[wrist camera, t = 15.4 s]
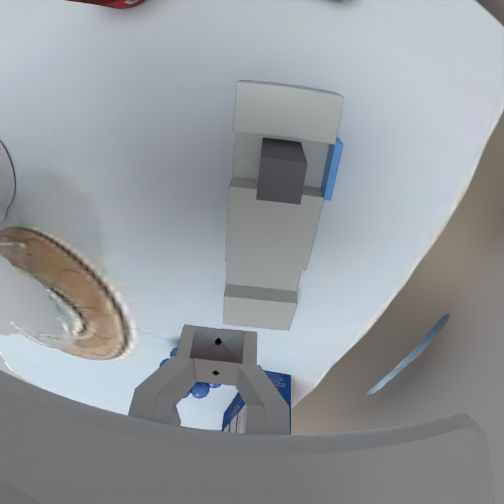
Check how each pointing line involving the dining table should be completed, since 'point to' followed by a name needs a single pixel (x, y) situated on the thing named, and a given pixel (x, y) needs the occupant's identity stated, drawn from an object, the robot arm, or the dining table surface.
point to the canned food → (111, 2)
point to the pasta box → (237, 408)
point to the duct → (276, 213)
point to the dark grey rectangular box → (281, 171)
